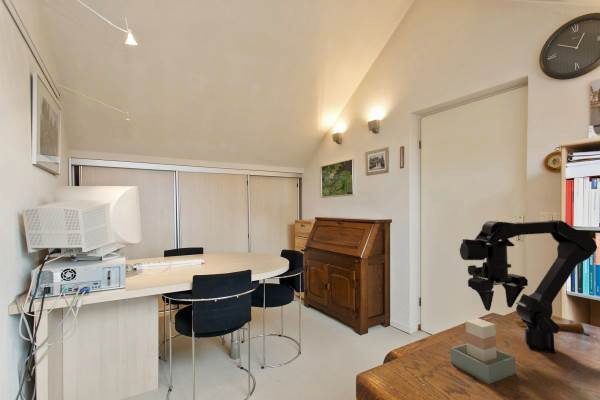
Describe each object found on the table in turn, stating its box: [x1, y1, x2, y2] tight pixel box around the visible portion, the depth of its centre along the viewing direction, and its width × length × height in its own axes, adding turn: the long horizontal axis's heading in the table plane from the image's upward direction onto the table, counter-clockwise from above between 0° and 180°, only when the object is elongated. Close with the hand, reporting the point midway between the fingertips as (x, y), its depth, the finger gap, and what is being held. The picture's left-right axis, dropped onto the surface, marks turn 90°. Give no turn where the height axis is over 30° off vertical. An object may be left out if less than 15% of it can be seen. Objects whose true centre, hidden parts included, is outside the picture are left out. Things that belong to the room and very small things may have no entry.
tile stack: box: [465, 317, 497, 365], centre depth 80 cm, size 5×5×12 cm
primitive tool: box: [515, 320, 585, 334], centre depth 106 cm, size 19×6×4 cm, turn 67°
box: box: [449, 342, 517, 385], centre depth 80 cm, size 11×11×4 cm
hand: (498, 308), depth 92 cm, fingers open, 9 cm apart
